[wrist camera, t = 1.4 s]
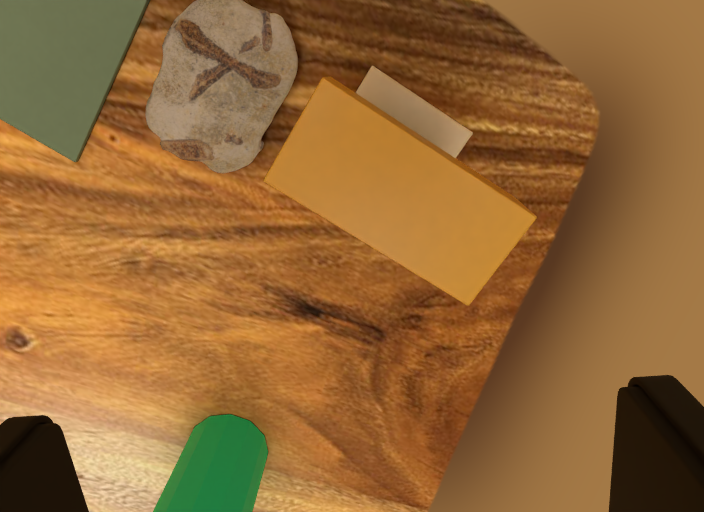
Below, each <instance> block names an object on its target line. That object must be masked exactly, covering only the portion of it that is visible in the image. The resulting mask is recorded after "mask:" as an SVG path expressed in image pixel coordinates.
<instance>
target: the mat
mask: <svg viewBox="0 0 704 512" xmlns="http://www.w3.org/2000/svg"><path fill="white" fill-rule="evenodd" d="M149 1H150V0H0V119H1V120H3V121H5V122H6V123H8V124H10V125H12V126H13V127H15V128H17V129H18V130H20V131H22V132H24V133H25V134H27V135H29V136H31V137H32V138H34V139H36V140H37V141H39V142H41V143H43V144H44V145H46V146H48V147H49V148H51V149H53V150H55V151H56V152H58V153H60V154H62V155H63V156H65V157H67V158H68V159H70V160H72V161H74V162H77V161H78V160H79V158H80V156H81V153H82V151H83V149H84V147H85V144H86V142H87V140H88V138H89V135H90V133H91V131H92V129H93V126H94V124H95V122H96V120H97V118H98V115H99V113H100V111H101V109H102V106H103V104H104V102H105V100H106V97H107V95H108V93H109V91H110V88H111V86H112V84H113V82H114V79H115V77H116V75H117V73H118V70H119V68H120V66H121V64H122V62H123V59H124V57H125V55H126V53H127V50H128V48H129V46H130V44H131V41H132V39H133V37H134V35H135V32H136V30H137V28H138V26H139V23H140V21H141V19H142V17H143V15H144V12H145V10H146V8H147V6H148V3H149Z"/></svg>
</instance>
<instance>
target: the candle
mask: <svg viewBox="0 0 704 512" xmlns="http://www.w3.org/2000/svg"><path fill="white" fill-rule="evenodd" d="M267 455H268V449H267V445H266V440H265V436H264V435H263V434H262V432H261V431H260V430H259V429H258V428H257V427H256V426H255V425H254V424H253V423H252V422H251V421H248V420H246V419H243V418H240V417H237V416H235V415H232V414H227V415H216V416H210V417H208V418H207V419H205V420H204V421H202V422H201V423H199V424H198V425H196V426H195V427H194V429H193V431H192V433H191V435H190V437H189V439H188V441H187V444H186V446H185V448H184V450H183V452H182V454H181V456H180V458H179V460H178V462H177V464H176V466H175V468H174V470H173V472H172V474H171V476H170V478H169V480H168V482H167V484H166V486H165V488H164V490H163V492H162V494H161V496H160V498H159V500H158V502H157V505H156V507H155V509H154V511H153V512H252V511H253V508H254V504H255V500H256V496H257V493H258V489H259V485H260V481H261V478H262V474H263V470H264V467H265V463H266V459H267Z"/></svg>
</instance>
